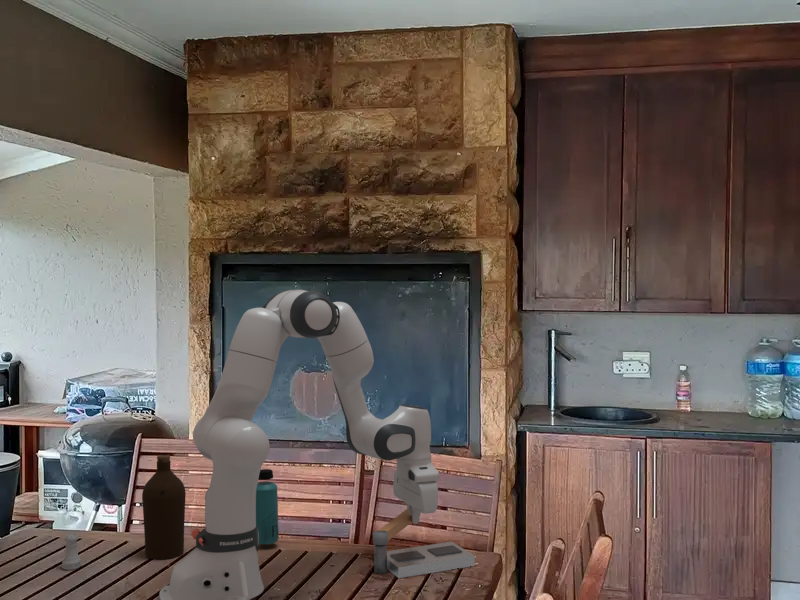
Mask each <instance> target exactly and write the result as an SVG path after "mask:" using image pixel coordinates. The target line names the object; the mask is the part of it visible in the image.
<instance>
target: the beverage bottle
mask: <svg viewBox="0 0 800 600" xmlns="http://www.w3.org/2000/svg"><path fill="white" fill-rule="evenodd" d="M273 471H274V470H273V469H269V468H261V470H260V474H259V478H258V480H260V482H259V481H258V483H257V489H256V526H258V533H259V545H271V544H275V543H277V542H278V541H279V536H280V532H279V531H280V530H279V499H278V485H277V484H276V483H275V482H273V481H266V480H272V479H274V474H273V473H274V472H273ZM261 480H263V481H261Z"/></svg>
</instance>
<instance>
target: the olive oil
mask: <svg viewBox="0 0 800 600" xmlns="http://www.w3.org/2000/svg"><path fill="white" fill-rule="evenodd" d="M156 459H157V461H156V471H155V473H154V474H153V475H152V476H151V477H150V478H149V479H148V481H147V482H146V483H145V484H144V486H143V490H142V494H141V500H142V501H141V502H142V513H143V514H142V515H143V517H142V518H143V531H144V550H145V551H144V552H145V553H144V555H145V557H146V558H147V559H149V560H156V561H157V560H170V559H174V558H177V557H180V556H182V555H183V554H184V553H185V552H184V551H185V517H186V515H185V513H186V487H185V484H184V482H183V481H182V480H181V479H180V478H179V477H178V476H177V475H176V474H175V473H174V472H173V471H172V469H171V465H172V464H171V456H170V454H159V455H157V456H156Z"/></svg>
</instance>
